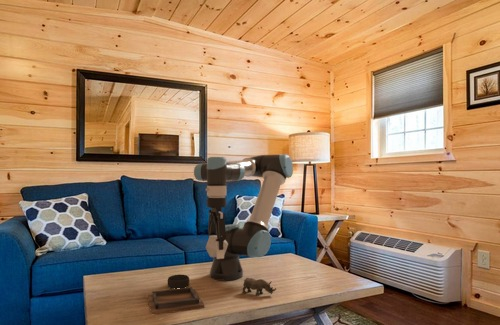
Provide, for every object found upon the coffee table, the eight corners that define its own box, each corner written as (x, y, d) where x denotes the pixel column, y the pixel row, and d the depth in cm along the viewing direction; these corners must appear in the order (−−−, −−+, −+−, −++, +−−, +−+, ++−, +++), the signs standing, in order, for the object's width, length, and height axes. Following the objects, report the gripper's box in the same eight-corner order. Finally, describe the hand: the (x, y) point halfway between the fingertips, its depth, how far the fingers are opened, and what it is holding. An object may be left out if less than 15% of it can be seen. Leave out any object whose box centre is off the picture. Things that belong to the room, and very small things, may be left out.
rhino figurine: (274, 298, 132) (274, 282, 132) (240, 293, 137) (240, 278, 138) (277, 294, 136) (277, 279, 136) (245, 290, 141) (244, 275, 141)
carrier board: (147, 297, 134) (147, 290, 134) (194, 291, 140) (194, 285, 140) (151, 315, 117) (151, 307, 117) (204, 307, 123) (204, 300, 123)
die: (221, 261, 129) (234, 238, 133) (201, 249, 129) (214, 227, 133) (219, 264, 136) (230, 242, 140) (199, 253, 136) (212, 231, 140)
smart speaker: (167, 291, 142) (167, 281, 142) (167, 284, 150) (167, 274, 150) (190, 288, 144) (190, 279, 144) (188, 282, 152) (188, 273, 153)
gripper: (200, 195, 144) (200, 250, 143) (214, 198, 124) (214, 263, 123) (218, 195, 147) (218, 249, 146) (235, 198, 126) (235, 261, 126)
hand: (216, 255), depth 134 cm, fingers closed on die, 9 cm apart
